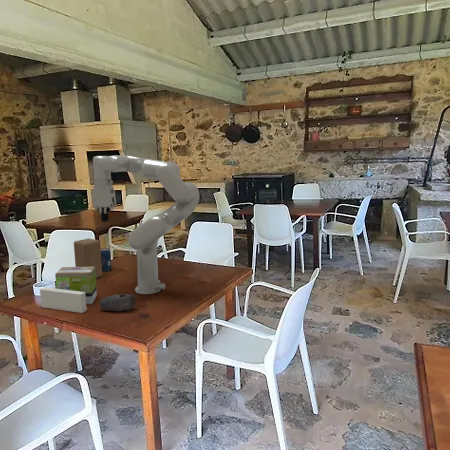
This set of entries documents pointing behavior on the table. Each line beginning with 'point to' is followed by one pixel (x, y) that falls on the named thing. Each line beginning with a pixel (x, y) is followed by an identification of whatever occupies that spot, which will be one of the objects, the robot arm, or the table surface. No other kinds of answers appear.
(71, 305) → the plank
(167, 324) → the table surface
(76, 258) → the wooden block
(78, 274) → the tea box
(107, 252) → the soda can
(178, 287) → the table surface
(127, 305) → the perforated stone tool
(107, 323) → the table surface
